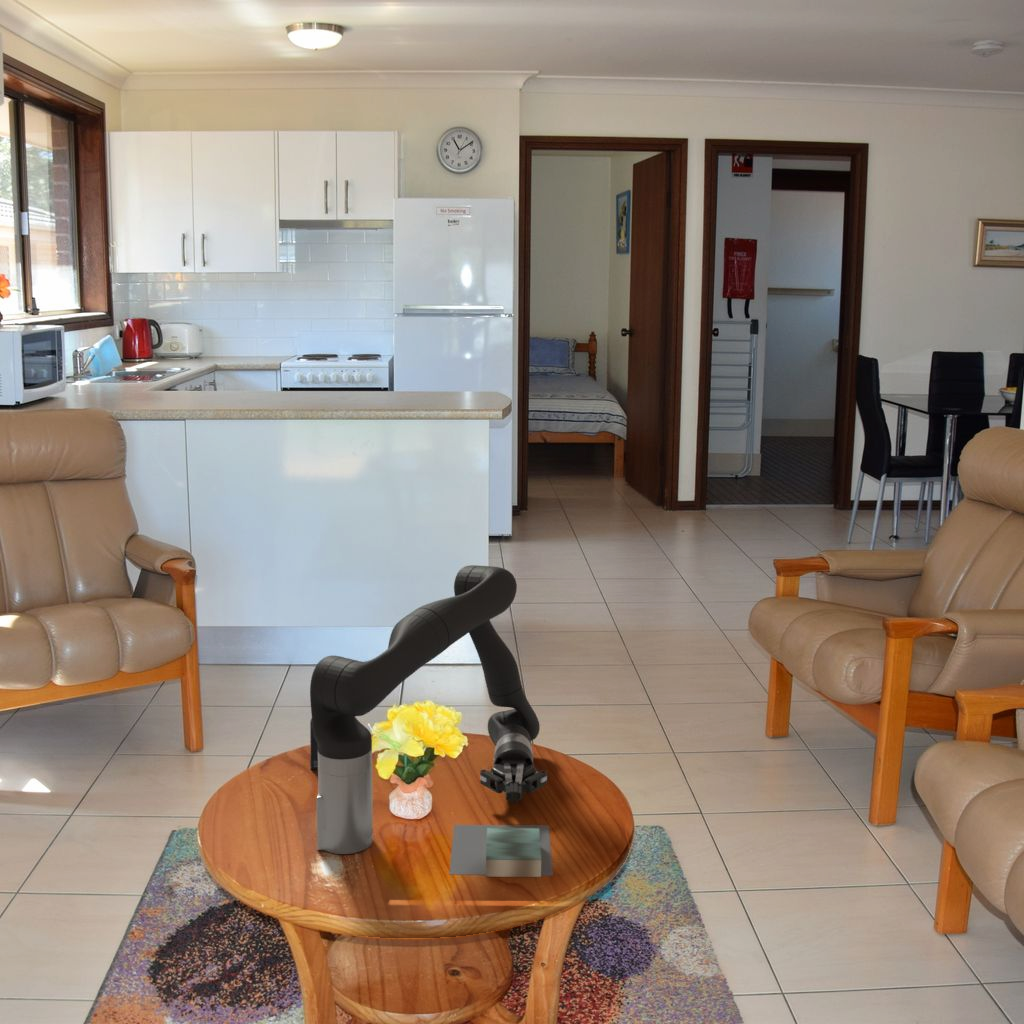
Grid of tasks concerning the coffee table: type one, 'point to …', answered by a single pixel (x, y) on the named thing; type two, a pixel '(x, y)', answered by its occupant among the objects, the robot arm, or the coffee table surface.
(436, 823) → the coffee table surface
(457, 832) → the rubber mat
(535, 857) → the green flat block
